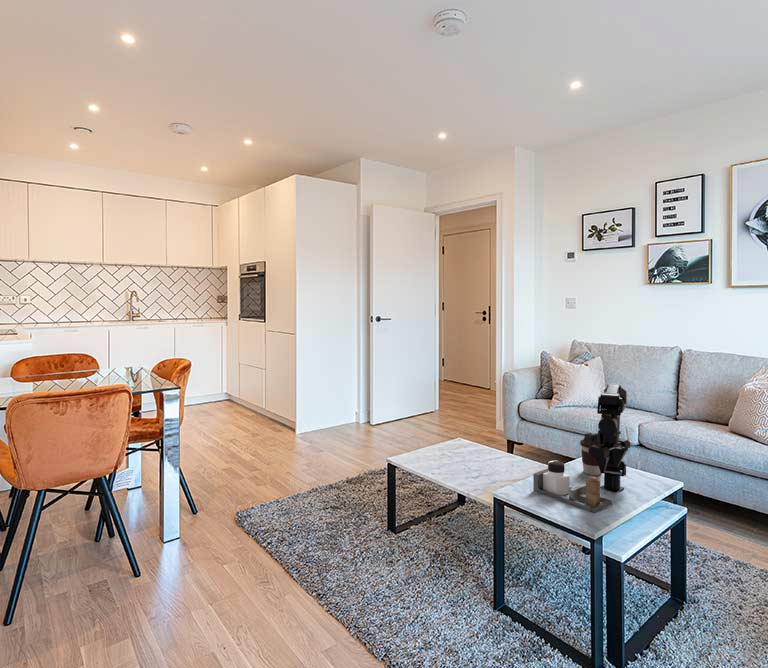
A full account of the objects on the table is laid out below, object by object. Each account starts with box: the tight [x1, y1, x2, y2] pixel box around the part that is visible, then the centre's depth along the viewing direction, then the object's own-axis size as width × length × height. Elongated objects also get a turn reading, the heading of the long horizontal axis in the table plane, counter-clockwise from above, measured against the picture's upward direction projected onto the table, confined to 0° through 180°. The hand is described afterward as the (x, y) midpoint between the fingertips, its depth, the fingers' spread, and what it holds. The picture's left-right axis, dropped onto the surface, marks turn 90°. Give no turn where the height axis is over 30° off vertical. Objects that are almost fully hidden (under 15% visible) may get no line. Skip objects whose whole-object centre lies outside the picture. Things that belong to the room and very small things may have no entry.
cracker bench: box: [532, 468, 613, 514], centre depth 185 cm, size 12×26×7 cm, turn 36°
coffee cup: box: [579, 438, 602, 476], centre depth 211 cm, size 10×10×15 cm
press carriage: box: [568, 476, 601, 507], centre depth 180 cm, size 8×9×10 cm
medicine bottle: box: [543, 460, 571, 496], centre depth 190 cm, size 7×7×12 cm
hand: (609, 470), depth 180 cm, fingers open, 9 cm apart
